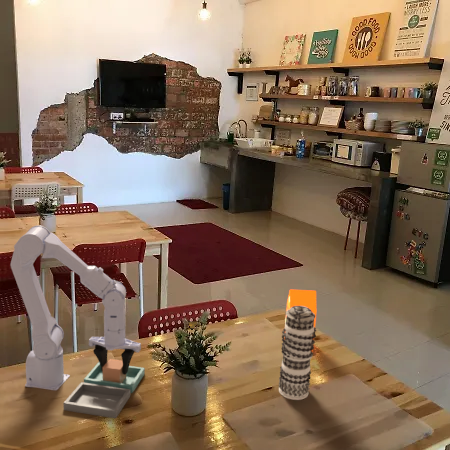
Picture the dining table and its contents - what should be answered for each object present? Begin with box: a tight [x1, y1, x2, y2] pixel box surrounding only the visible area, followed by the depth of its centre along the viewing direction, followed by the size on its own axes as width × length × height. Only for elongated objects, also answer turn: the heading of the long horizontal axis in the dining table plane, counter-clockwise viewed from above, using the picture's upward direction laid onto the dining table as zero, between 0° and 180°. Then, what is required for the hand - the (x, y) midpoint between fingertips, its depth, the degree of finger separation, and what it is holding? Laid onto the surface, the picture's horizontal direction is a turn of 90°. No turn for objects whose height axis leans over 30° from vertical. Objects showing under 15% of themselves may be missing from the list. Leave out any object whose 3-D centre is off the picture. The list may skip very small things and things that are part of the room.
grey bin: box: [63, 381, 131, 419], centre depth 131 cm, size 14×10×2 cm
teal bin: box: [83, 361, 146, 394], centre depth 142 cm, size 14×10×2 cm
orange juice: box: [284, 289, 318, 353], centre depth 166 cm, size 8×9×20 cm
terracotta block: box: [103, 358, 126, 383], centre depth 142 cm, size 5×5×5 cm
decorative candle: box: [278, 306, 317, 401], centre depth 139 cm, size 9×9×25 cm
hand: (115, 371), depth 142 cm, fingers open, 6 cm apart
